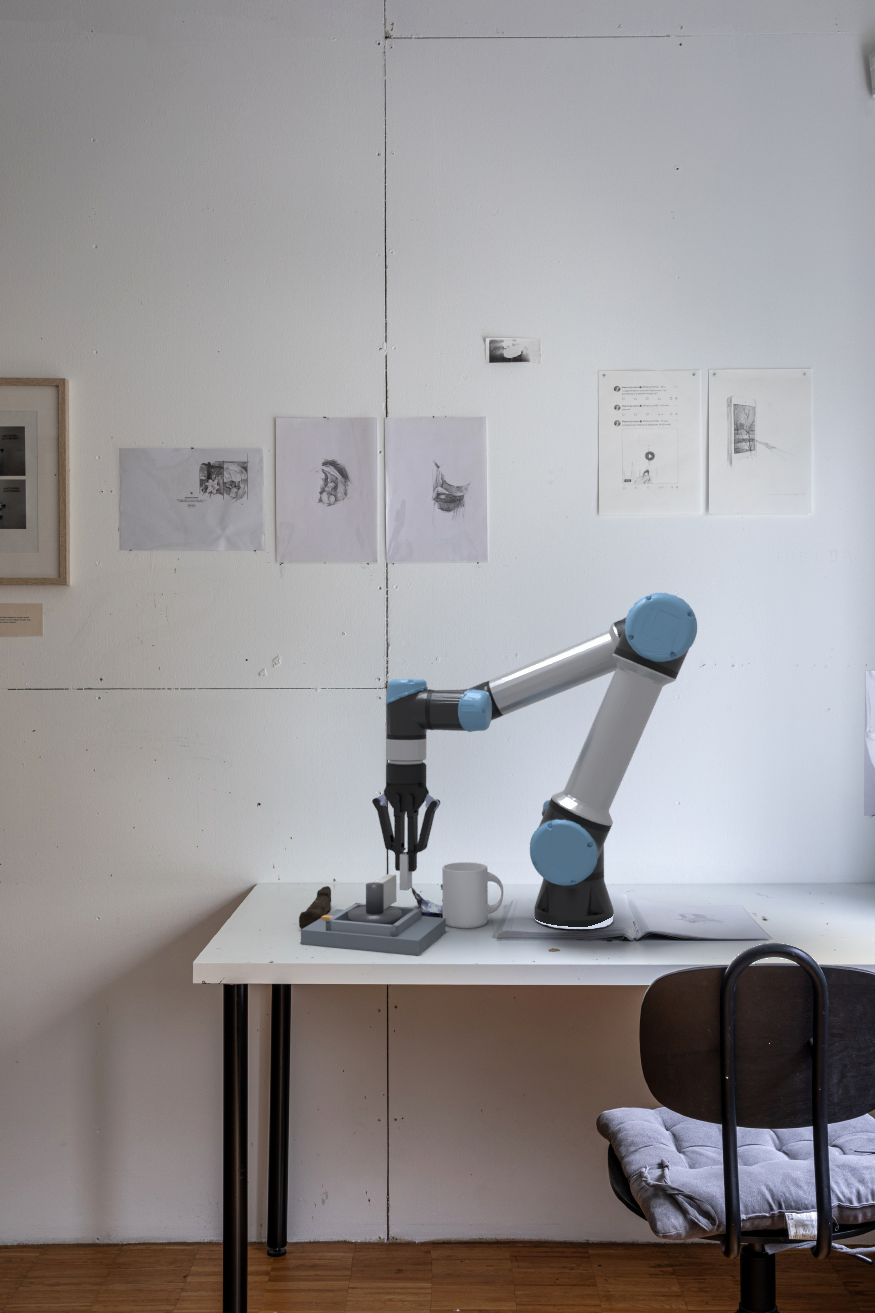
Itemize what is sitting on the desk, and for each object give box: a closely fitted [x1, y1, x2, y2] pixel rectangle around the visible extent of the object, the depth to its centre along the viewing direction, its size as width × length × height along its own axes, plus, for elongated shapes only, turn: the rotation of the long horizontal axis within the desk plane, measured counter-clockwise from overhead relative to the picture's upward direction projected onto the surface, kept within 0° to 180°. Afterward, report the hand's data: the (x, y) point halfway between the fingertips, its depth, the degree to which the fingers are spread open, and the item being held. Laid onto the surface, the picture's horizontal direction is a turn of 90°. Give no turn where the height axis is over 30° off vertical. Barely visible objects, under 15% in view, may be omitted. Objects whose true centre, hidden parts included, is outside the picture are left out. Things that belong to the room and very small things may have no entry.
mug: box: [441, 861, 504, 929], centre depth 179 cm, size 9×12×11 cm
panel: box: [300, 902, 447, 956], centre depth 168 cm, size 22×15×4 cm
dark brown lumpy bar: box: [298, 885, 332, 930], centre depth 182 cm, size 19×4×5 cm, turn 173°
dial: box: [348, 873, 401, 925], centre depth 170 cm, size 13×10×7 cm
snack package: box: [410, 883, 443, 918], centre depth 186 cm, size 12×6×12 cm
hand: (405, 888), depth 174 cm, fingers closed
